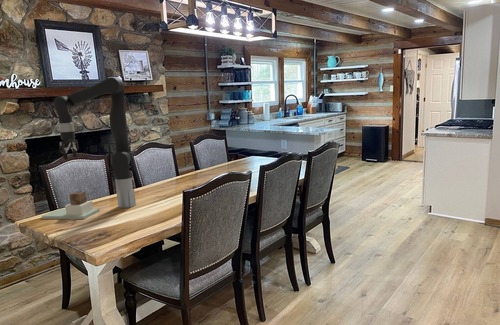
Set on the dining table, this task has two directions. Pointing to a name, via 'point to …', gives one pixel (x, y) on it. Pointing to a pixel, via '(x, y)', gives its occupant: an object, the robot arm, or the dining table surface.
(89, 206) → the block
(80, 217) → the serving board
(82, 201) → the walnut cube
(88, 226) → the dining table surface
